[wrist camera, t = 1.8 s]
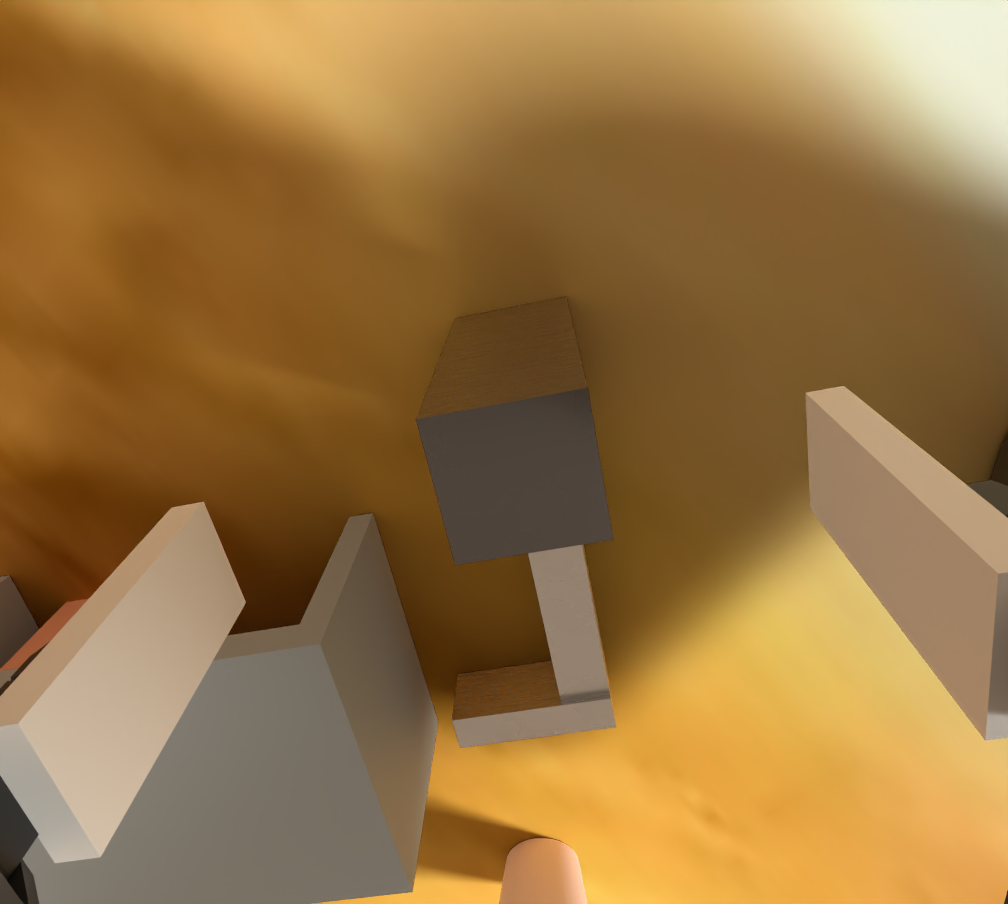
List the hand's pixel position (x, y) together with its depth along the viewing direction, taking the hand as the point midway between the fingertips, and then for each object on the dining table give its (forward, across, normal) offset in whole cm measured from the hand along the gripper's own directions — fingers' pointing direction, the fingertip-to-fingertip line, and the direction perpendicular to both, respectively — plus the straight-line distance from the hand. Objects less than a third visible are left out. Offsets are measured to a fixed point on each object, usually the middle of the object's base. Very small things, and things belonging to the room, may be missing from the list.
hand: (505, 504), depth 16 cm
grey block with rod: (+12, +1, +7) cm, 14 cm away
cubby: (+12, +15, +11) cm, 22 cm away
